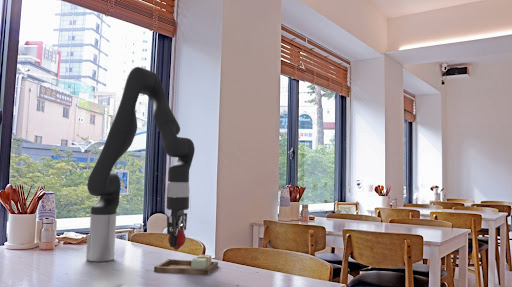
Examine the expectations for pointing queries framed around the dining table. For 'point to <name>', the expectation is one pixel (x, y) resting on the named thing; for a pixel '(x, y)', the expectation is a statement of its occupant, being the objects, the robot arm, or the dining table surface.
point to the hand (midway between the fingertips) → (176, 245)
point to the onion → (179, 239)
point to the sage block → (199, 263)
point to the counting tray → (183, 267)
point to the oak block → (206, 258)
